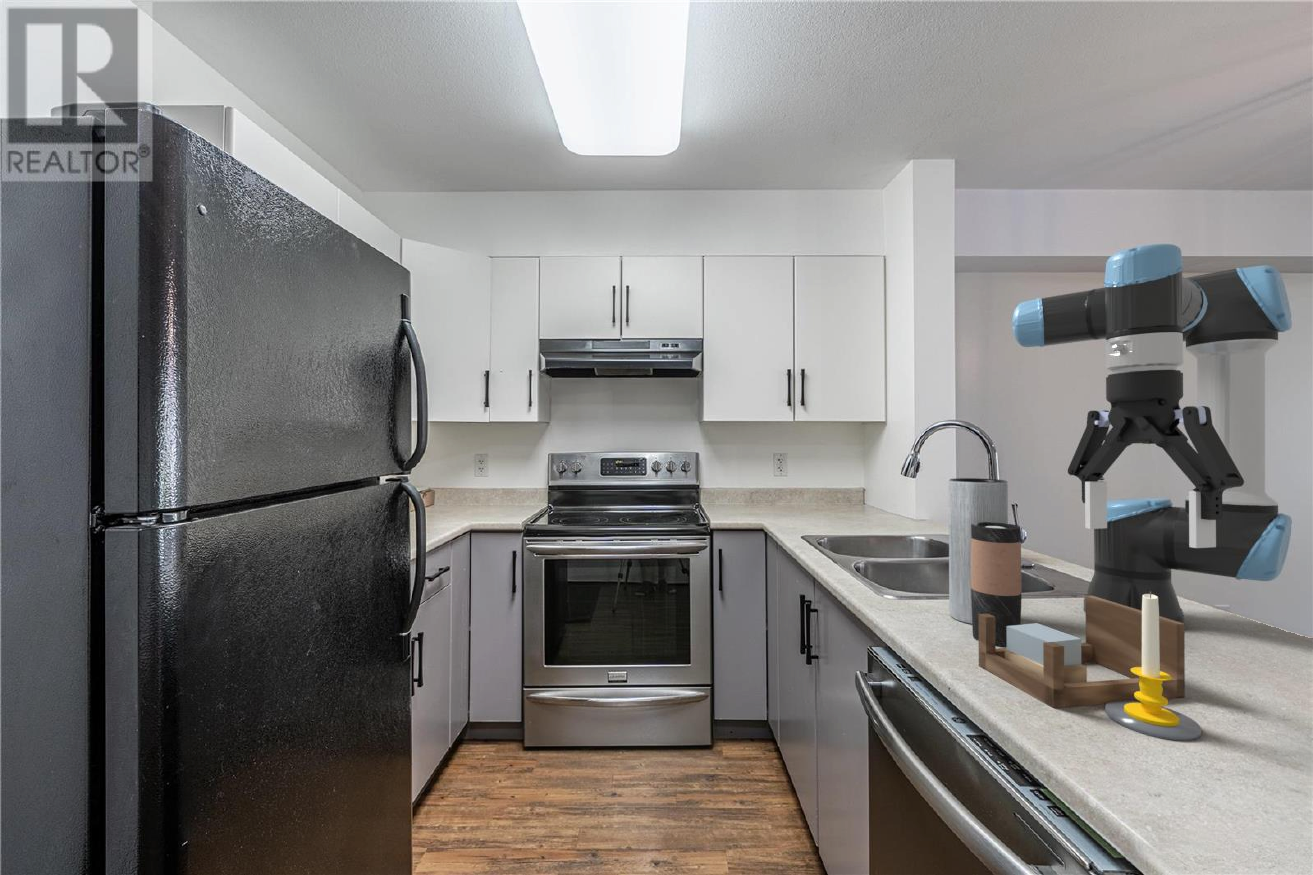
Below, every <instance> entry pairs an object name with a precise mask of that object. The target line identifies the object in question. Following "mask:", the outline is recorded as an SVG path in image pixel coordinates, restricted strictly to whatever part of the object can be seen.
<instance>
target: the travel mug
mask: <svg viewBox="0 0 1313 875" xmlns="http://www.w3.org/2000/svg"><path fill="white" fill-rule="evenodd" d="M1021 536H1022V532H1021V526H1019V525H1017V524H1012V523H1008V524H1006V523H994V522H980V523H978V524H977V525H973V524H971V604H972V624H971V627H972V637H973V638H974V639H975V640H977V641H978V642H979V614H990V615H992V616H994V617H995V644H996V647H1003V648H1007V626H1013V625H1022V624H1021V623H1022V592H1023V591H1022V590H1023V589H1022V587H1023V584H1022V537H1021Z"/></svg>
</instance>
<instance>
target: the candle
mask: <svg viewBox="0 0 1313 875" xmlns="http://www.w3.org/2000/svg"><path fill="white" fill-rule="evenodd" d="M1131 672H1132V673H1134V674H1136V675H1138V676H1139V679H1140V682H1139V687H1140V691H1137V692H1135V693H1134V697H1135V698H1136V699H1137V700H1139V702H1141V703H1128V704H1125V705H1124V711H1125V712H1126V713H1127V714H1128V715H1129V716H1131V717H1132V718H1134V719H1136V720H1139V721H1142V722H1145V723H1148V724H1152V725H1157V726H1164V727H1172V726H1176V725H1178V724H1179V718H1178V717H1177V716H1176V715H1175V714H1174V713H1172V712H1170V711H1168V710H1166V709H1163V708H1161V707H1165V706H1168V704H1169V701H1168V700H1169V699H1166V698H1165V697H1163V696H1162V691H1163V688H1162V683H1163V681H1166V680H1171V679H1172V677H1171V676H1170V675H1169V674H1167V673H1164V672H1162V671H1160V652H1159V605H1158V597H1157V596H1156V595H1152V594H1151V591H1150V594H1144V595H1143V597H1142V667H1134V668H1131Z"/></svg>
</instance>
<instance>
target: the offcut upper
mask: <svg viewBox="0 0 1313 875" xmlns="http://www.w3.org/2000/svg"><path fill="white" fill-rule="evenodd" d="M1043 642H1056V643H1058V644H1060V645H1063V646H1064V666H1068V665H1076V664H1082V662H1081V643H1082V638H1080V637H1077V636H1074V635H1071V634H1068V633H1066V632H1063V631H1060V630H1057V629H1054V628H1052V627H1050V626H1046V625H1044V624H1041V623H1037V622H1035V623H1023V624H1021V625H1013V626H1007V647H1006V648H1007V650H1009V651H1011V652H1013V653H1016V654H1018V655H1020V656H1023V657H1025V658H1027V659H1030V660H1032V661H1034V662H1037V663H1039V664H1041V665H1043Z"/></svg>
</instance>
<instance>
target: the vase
mask: <svg viewBox="0 0 1313 875" xmlns="http://www.w3.org/2000/svg"><path fill="white" fill-rule="evenodd" d="M1008 486H1009V485H1008V481H1007V480H1004V479H999V478H998V479H995V478H979V477H975V478H974V477H973V478H972V477H971V478H970V477H968V478H967V477H965V478H964V477H962V478H961V477H960V478H959V477H958V478H950V479H949V480H948V592H949V594H948V601H949V602H948V606H949V607H948V610H949V616H950V617H951V618H953V619H954V620H956V621H959V622H962V623H965V624H970V625H972V604H971V524H973V525H977V524H978V523H980V522H994V523H1006V524H1009V520H1008V519H1009V518H1008V517H1009V516H1008V515H1009V514H1008V513H1009V512H1008V511H1009V510H1008V508H1009V506H1008V502H1009V501H1008V498H1009V496H1008V495H1009V494H1008V490H1009V489H1008V488H1009V487H1008Z"/></svg>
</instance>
